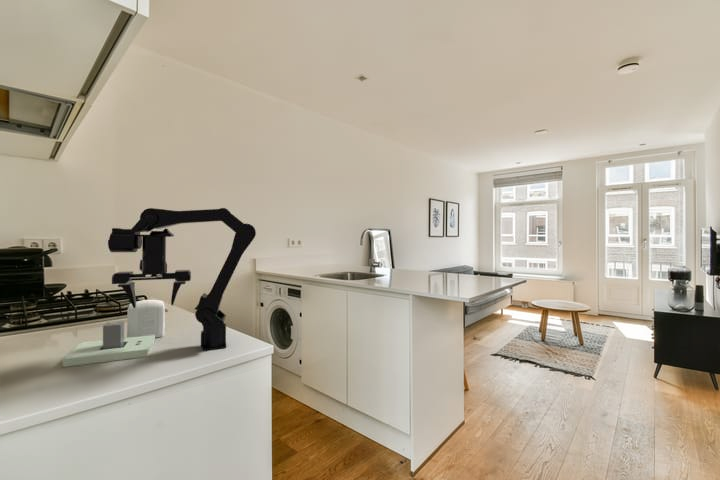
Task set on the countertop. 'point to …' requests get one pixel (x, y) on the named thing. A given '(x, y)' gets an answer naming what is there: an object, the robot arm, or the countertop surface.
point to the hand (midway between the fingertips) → (153, 306)
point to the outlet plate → (109, 351)
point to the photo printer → (146, 319)
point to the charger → (113, 335)
